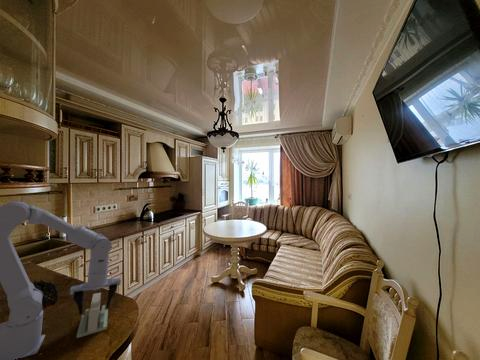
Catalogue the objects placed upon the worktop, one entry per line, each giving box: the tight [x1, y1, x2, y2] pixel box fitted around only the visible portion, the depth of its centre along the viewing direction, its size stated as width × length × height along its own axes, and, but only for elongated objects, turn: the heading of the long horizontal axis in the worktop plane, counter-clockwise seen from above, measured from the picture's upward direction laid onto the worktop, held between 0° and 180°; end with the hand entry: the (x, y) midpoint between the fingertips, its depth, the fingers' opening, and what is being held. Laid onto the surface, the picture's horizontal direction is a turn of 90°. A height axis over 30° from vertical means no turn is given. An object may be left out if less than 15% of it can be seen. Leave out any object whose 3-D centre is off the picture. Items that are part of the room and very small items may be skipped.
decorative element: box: [32, 279, 59, 307], centre depth 84 cm, size 22×5×6 cm, turn 60°
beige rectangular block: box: [88, 292, 102, 333], centre depth 68 cm, size 12×2×7 cm, turn 33°
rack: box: [76, 304, 109, 339], centre depth 68 cm, size 8×11×3 cm
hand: (94, 309), depth 68 cm, fingers open, 7 cm apart
